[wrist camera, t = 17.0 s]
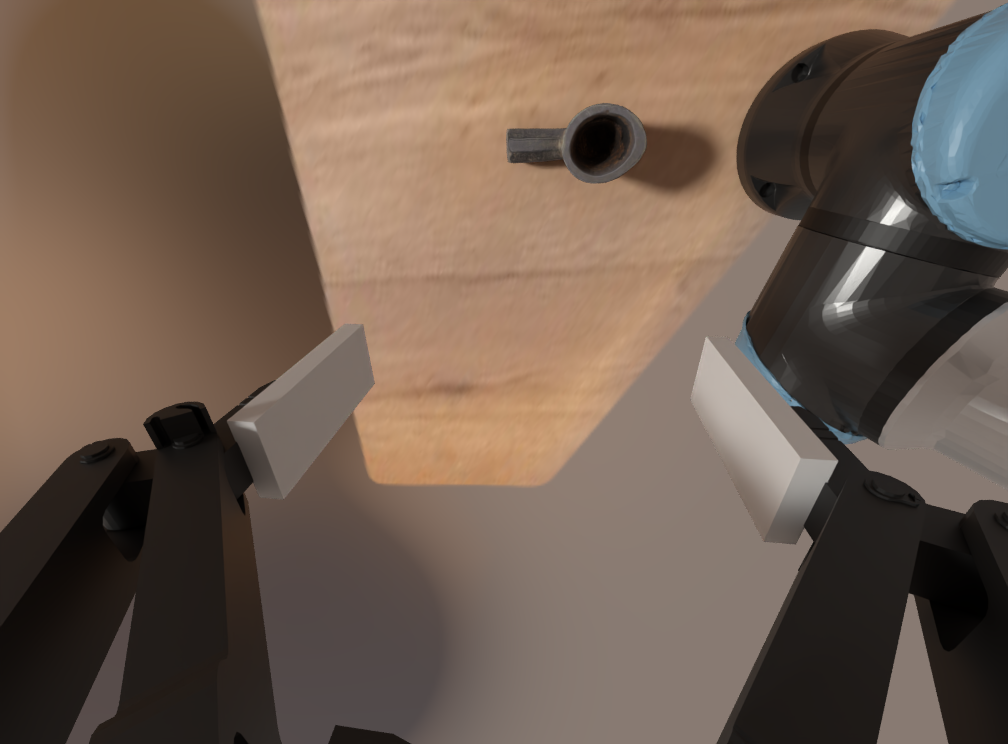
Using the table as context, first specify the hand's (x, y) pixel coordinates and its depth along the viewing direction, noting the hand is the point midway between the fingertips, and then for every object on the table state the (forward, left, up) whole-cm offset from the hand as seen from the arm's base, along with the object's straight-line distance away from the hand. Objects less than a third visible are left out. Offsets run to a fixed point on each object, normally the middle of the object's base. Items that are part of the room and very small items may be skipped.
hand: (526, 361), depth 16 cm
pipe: (-2, -7, -35) cm, 36 cm away
